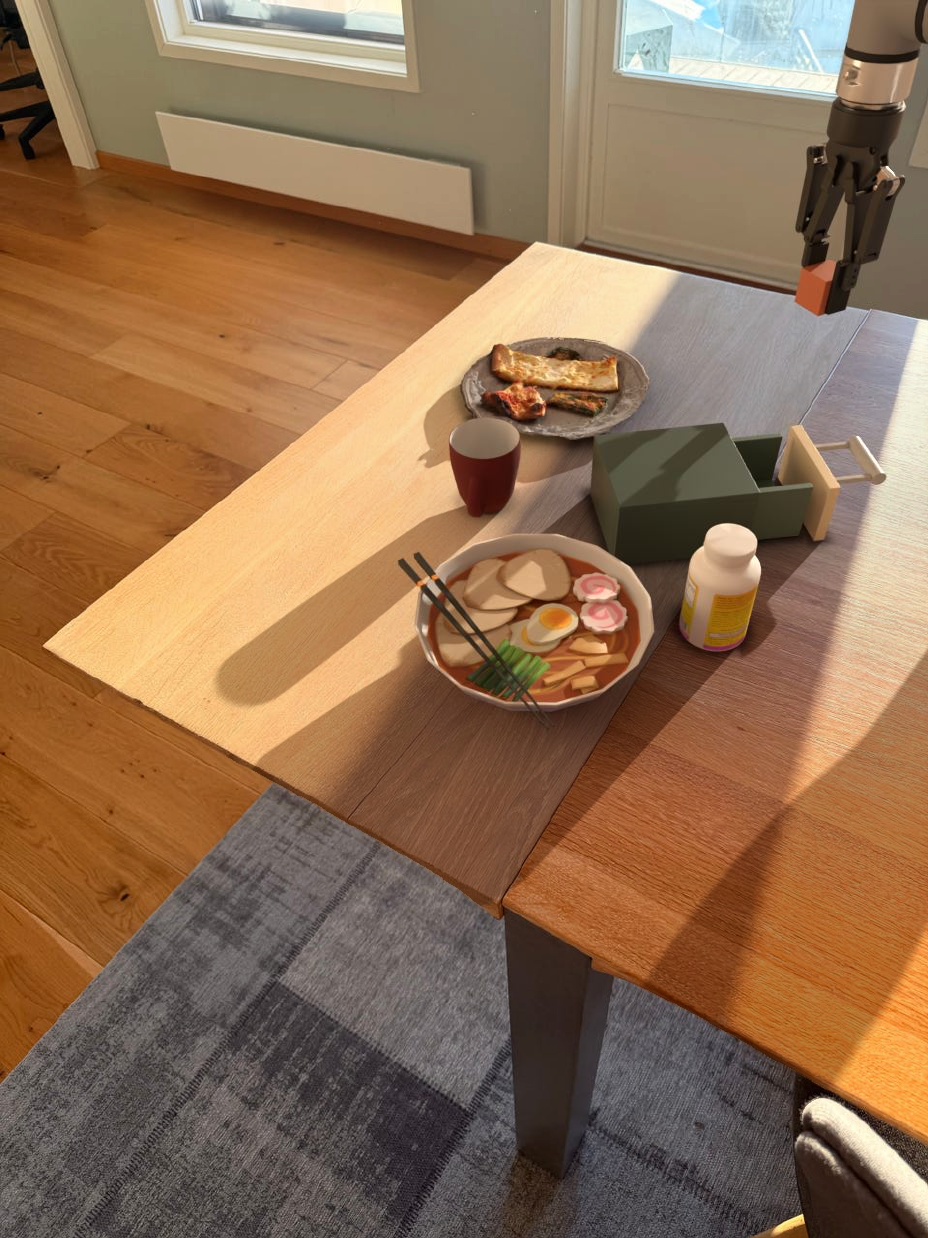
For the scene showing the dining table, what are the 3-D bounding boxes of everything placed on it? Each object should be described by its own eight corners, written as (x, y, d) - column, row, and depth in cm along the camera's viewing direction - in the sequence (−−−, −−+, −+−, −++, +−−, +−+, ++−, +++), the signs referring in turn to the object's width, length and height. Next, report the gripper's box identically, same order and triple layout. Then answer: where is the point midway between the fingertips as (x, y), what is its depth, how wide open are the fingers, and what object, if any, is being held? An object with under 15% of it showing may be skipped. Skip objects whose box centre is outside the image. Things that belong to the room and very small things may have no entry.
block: (846, 307, 114) (855, 273, 111) (817, 316, 113) (826, 281, 110) (822, 293, 117) (830, 259, 114) (794, 301, 116) (801, 267, 113)
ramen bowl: (702, 697, 87) (715, 640, 81) (499, 804, 80) (498, 750, 74) (557, 550, 103) (560, 493, 97) (376, 629, 95) (367, 572, 90)
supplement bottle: (757, 632, 93) (783, 538, 83) (719, 668, 90) (742, 574, 80) (702, 601, 96) (722, 506, 87) (664, 634, 93) (680, 540, 84)
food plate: (438, 431, 120) (437, 408, 117) (490, 342, 135) (490, 320, 132) (626, 460, 113) (629, 437, 111) (659, 364, 128) (661, 341, 126)
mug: (517, 544, 104) (516, 474, 96) (447, 542, 104) (441, 472, 97) (522, 486, 111) (522, 417, 103) (457, 485, 112) (452, 416, 104)
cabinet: (710, 487, 109) (723, 422, 102) (744, 558, 100) (760, 492, 94) (589, 499, 108) (594, 435, 102) (612, 572, 100) (619, 507, 93)
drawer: (838, 471, 109) (855, 419, 103) (879, 534, 101) (899, 481, 95) (675, 488, 108) (683, 436, 102) (703, 553, 100) (713, 500, 94)
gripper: (789, 84, 103) (753, 282, 119) (902, 128, 91) (844, 340, 108) (842, 72, 105) (799, 268, 121) (959, 114, 93) (894, 324, 110)
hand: (820, 302), depth 115 cm, fingers closed on block, 4 cm apart
